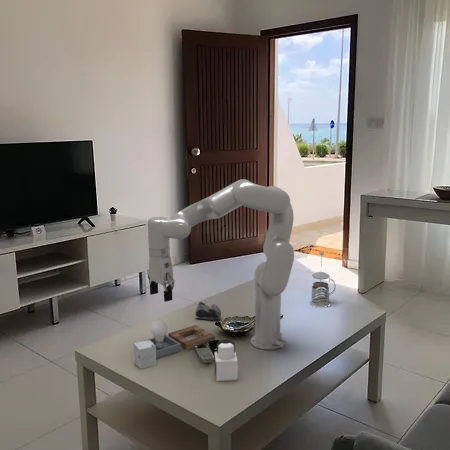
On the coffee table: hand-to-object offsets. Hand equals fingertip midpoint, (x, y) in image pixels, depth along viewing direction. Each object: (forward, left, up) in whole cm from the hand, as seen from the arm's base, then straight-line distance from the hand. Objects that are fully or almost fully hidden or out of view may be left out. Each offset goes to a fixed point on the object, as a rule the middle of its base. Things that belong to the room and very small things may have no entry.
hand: (161, 297), depth 183 cm
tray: (0, +1, -20) cm, 20 cm away
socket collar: (0, -13, -20) cm, 24 cm away
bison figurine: (+15, -32, -21) cm, 41 cm away
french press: (-5, -82, -21) cm, 85 cm away
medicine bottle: (-30, -6, -21) cm, 37 cm away
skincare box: (-6, +11, -21) cm, 24 cm away
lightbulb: (0, +1, -20) cm, 20 cm away
